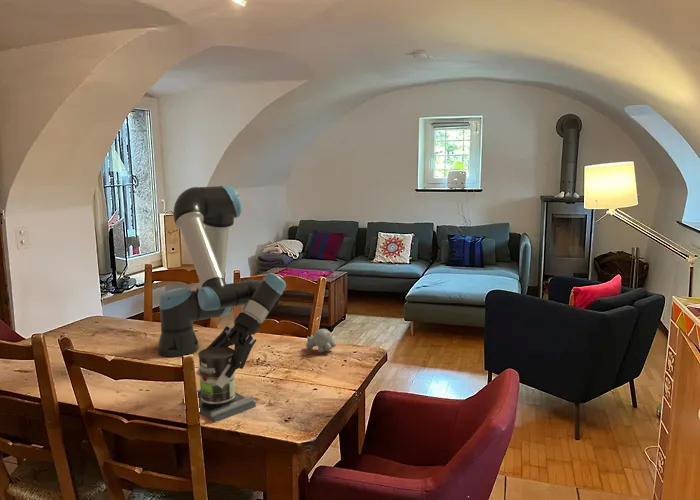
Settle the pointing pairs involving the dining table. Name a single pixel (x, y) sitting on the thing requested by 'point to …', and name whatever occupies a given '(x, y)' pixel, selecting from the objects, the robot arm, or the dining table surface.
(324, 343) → the round bodied animal figurine
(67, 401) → the dining table surface
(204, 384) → the coffee can
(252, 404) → the plate
